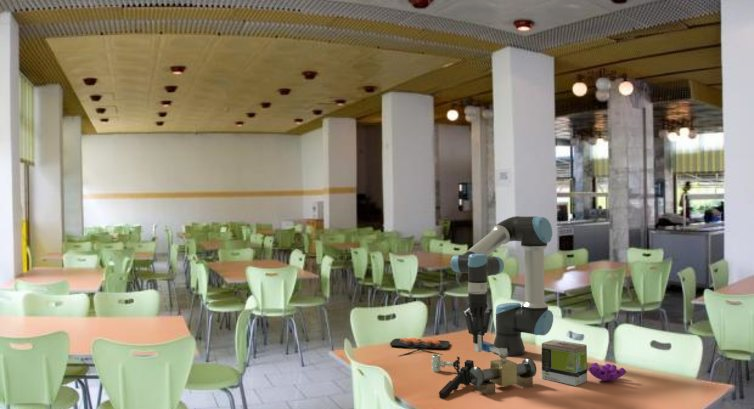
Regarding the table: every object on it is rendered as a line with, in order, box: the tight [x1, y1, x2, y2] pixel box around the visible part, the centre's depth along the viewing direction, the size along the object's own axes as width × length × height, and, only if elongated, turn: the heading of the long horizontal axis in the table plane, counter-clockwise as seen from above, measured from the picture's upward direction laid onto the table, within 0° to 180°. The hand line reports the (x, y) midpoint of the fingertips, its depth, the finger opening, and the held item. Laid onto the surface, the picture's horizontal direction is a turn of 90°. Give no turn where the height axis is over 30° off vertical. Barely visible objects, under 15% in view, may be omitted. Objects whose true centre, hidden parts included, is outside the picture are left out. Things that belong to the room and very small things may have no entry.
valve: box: [430, 354, 461, 373], centre depth 252 cm, size 7×7×12 cm
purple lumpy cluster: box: [588, 362, 627, 382], centre depth 238 cm, size 11×15×10 cm
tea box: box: [541, 339, 588, 387], centre depth 239 cm, size 15×10×15 cm, turn 44°
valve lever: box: [482, 340, 508, 359], centre depth 236 cm, size 18×3×3 cm, turn 26°
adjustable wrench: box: [438, 359, 475, 400], centre depth 228 cm, size 8×3×25 cm
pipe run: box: [470, 357, 537, 396], centre depth 230 cm, size 27×8×12 cm, turn 116°
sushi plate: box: [389, 337, 451, 357], centre depth 290 cm, size 29×30×4 cm
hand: (478, 351), depth 239 cm, fingers closed
